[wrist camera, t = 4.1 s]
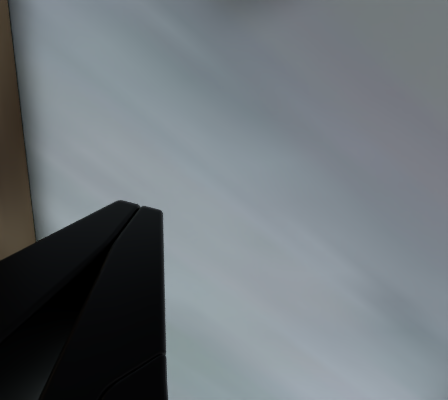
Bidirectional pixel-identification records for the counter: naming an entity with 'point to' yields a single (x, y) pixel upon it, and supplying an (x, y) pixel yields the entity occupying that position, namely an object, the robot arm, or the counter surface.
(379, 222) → the counter surface
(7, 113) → the trap deck
